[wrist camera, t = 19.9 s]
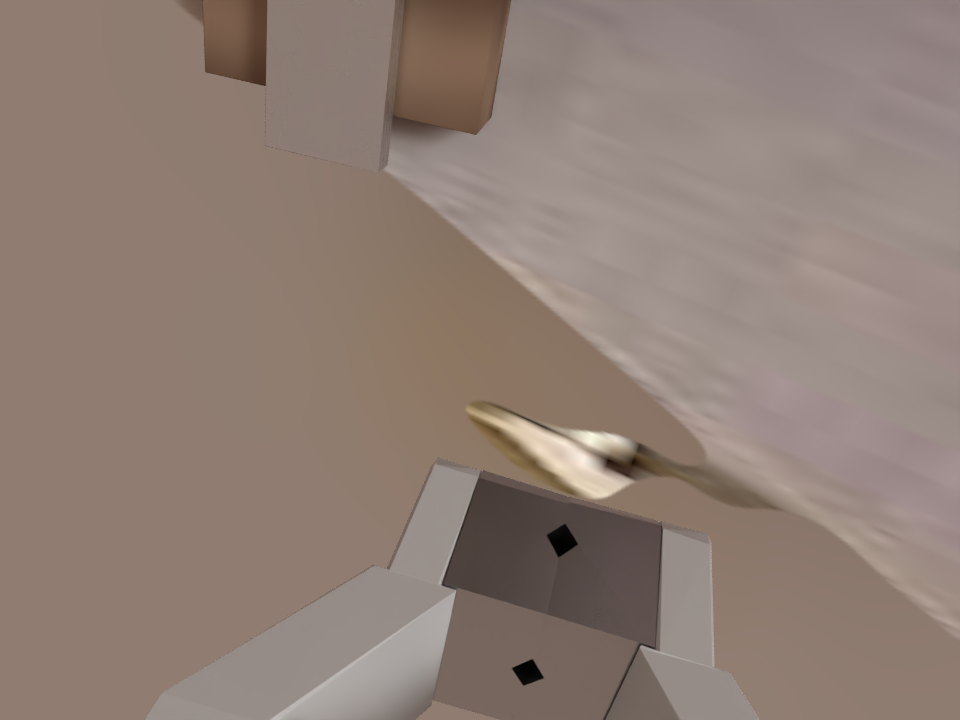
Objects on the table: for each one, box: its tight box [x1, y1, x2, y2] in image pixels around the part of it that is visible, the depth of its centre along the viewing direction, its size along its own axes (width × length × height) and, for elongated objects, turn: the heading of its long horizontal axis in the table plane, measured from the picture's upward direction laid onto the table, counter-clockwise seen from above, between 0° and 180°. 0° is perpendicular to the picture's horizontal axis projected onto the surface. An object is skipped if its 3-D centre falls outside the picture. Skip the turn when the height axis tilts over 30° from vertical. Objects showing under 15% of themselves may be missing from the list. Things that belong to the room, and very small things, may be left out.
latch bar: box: [265, 0, 405, 173], centre depth 29 cm, size 12×5×1 cm, turn 170°
